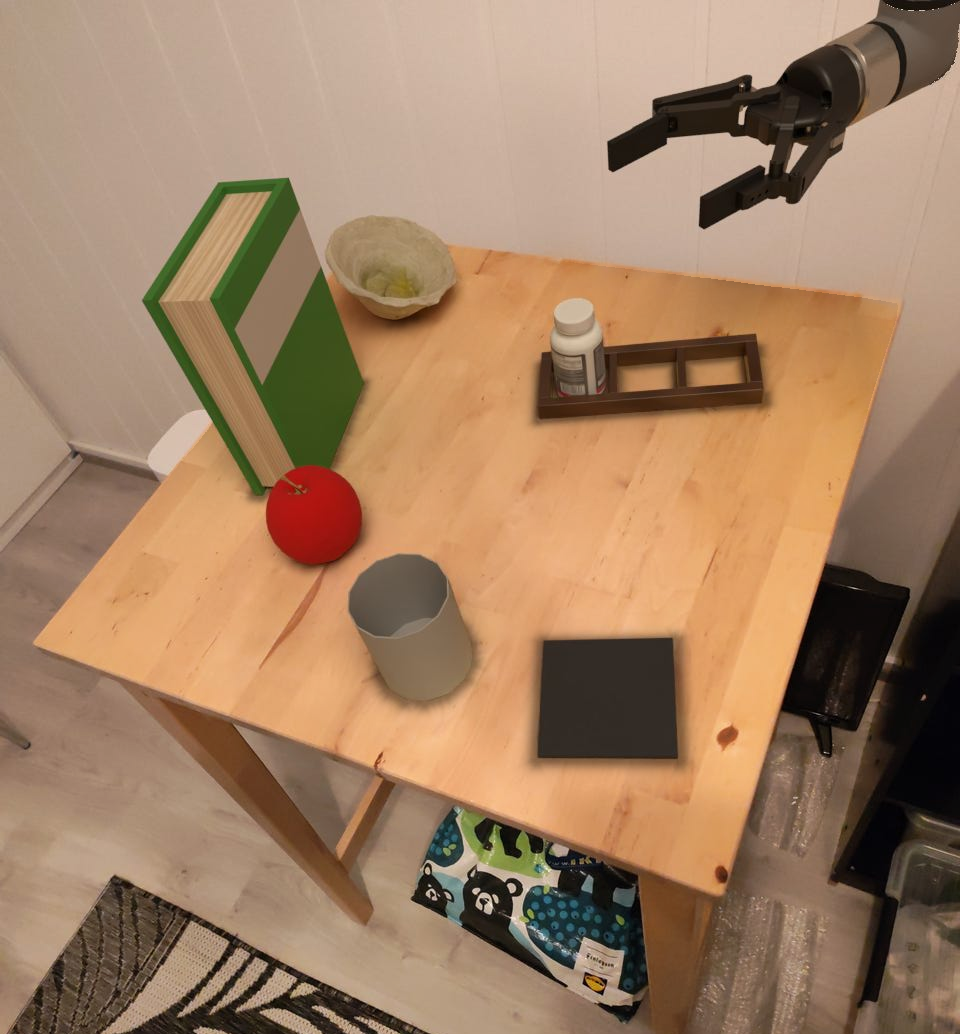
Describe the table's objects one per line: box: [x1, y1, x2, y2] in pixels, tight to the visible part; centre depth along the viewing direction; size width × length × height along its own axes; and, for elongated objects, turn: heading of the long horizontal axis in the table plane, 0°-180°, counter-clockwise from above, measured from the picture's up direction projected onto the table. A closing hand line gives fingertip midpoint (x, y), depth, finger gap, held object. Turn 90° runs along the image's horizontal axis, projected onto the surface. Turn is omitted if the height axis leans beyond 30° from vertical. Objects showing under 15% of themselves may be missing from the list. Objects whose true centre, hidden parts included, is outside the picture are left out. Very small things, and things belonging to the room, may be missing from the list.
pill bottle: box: [549, 297, 607, 397], centre depth 86 cm, size 5×5×10 cm
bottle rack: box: [537, 333, 765, 420], centre depth 88 cm, size 23×9×2 cm, turn 85°
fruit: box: [265, 465, 363, 565], centre depth 80 cm, size 9×9×10 cm
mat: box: [536, 637, 679, 760], centre depth 69 cm, size 11×11×1 cm
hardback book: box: [141, 177, 365, 496], centre depth 83 cm, size 18×7×24 cm, turn 168°
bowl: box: [324, 214, 458, 321], centre depth 99 cm, size 15×14×10 cm
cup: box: [346, 552, 473, 702], centre depth 70 cm, size 8×8×10 cm
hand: (653, 184), depth 77 cm, fingers open, 13 cm apart
